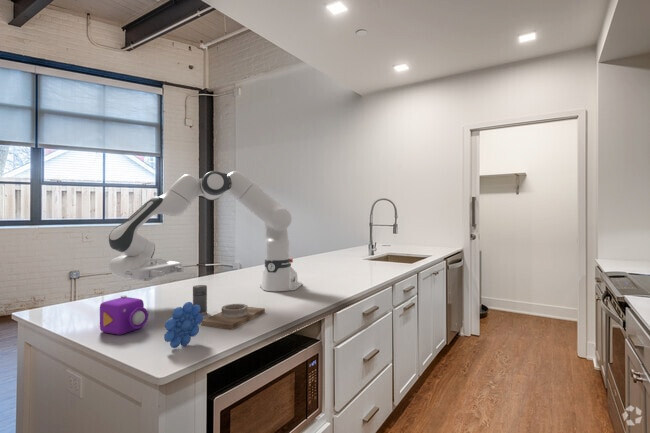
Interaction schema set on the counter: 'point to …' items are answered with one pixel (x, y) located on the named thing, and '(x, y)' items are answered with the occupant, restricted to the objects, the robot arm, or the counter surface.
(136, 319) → the toy camera
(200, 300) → the grey rounded cylinder
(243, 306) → the mount
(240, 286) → the counter surface
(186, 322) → the blue lumpy cluster
